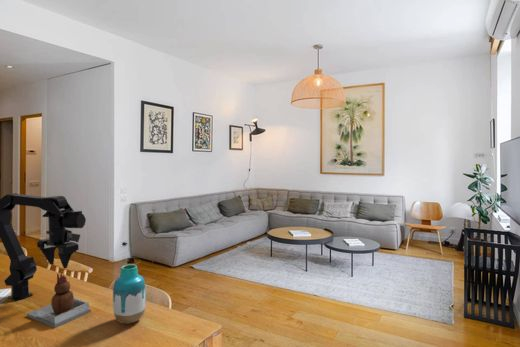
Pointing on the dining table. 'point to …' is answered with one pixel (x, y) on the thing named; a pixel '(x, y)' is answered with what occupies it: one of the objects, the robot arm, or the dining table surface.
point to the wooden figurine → (62, 296)
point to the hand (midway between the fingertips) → (58, 266)
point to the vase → (129, 295)
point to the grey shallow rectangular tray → (54, 320)
